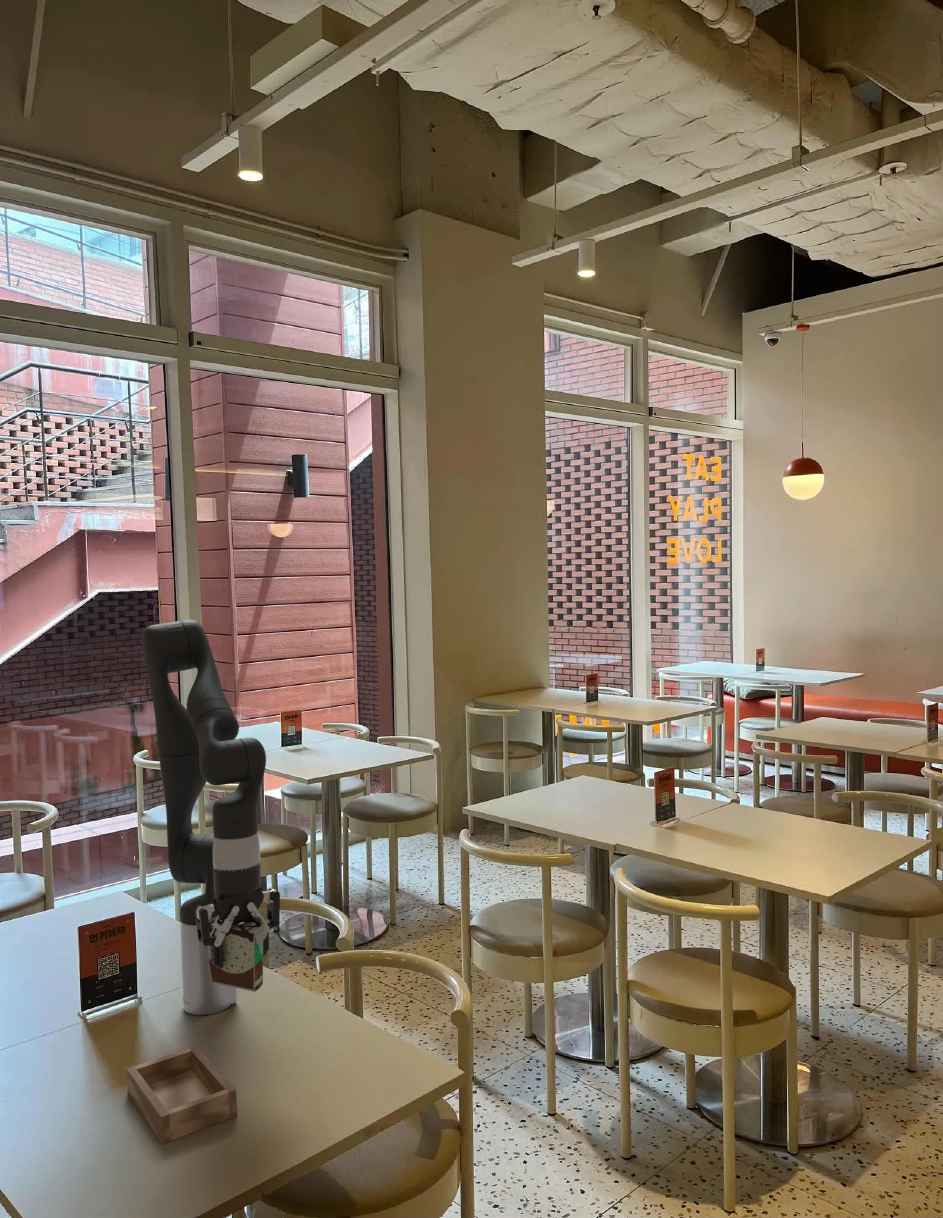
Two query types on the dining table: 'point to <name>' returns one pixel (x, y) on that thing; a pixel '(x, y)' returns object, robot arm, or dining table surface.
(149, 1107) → the wooden box
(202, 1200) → the dining table surface
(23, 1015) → the dining table surface
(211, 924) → the food container
